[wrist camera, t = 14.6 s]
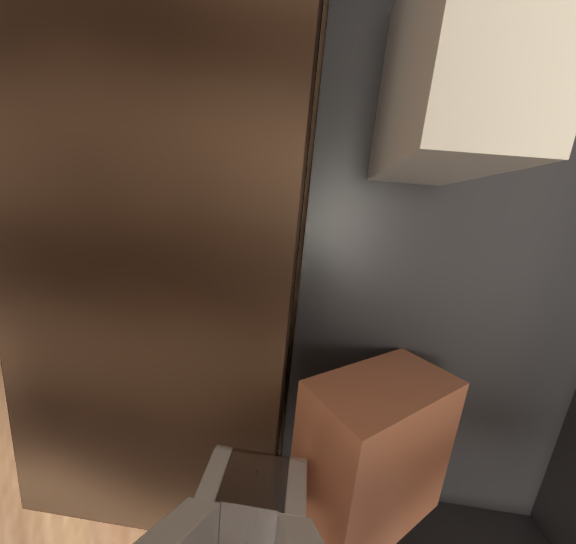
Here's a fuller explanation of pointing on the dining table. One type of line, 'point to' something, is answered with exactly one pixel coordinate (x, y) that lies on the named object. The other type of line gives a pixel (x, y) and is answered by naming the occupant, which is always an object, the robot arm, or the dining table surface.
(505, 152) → the cream tile
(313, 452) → the terracotta tile
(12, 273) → the board
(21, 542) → the dining table surface
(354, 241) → the box
